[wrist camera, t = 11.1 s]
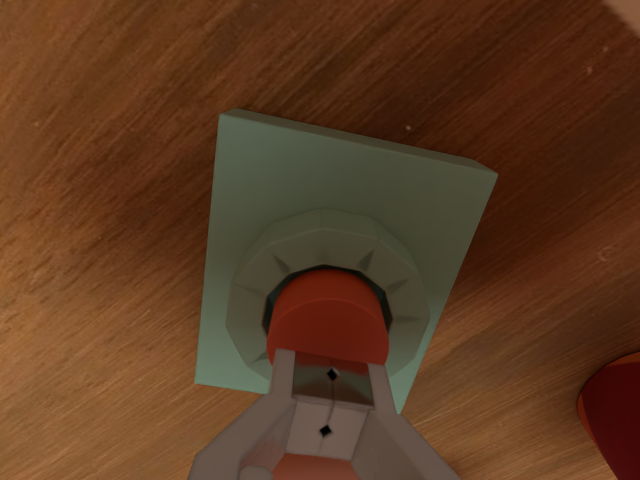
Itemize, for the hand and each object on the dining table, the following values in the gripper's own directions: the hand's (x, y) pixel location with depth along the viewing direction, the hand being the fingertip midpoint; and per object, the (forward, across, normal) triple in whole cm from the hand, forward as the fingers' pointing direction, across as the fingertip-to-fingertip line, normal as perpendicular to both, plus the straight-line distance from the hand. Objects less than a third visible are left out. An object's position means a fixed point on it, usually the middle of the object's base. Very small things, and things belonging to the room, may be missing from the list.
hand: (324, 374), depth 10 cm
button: (+3, 0, 0) cm, 3 cm away
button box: (+6, 0, 0) cm, 6 cm away
